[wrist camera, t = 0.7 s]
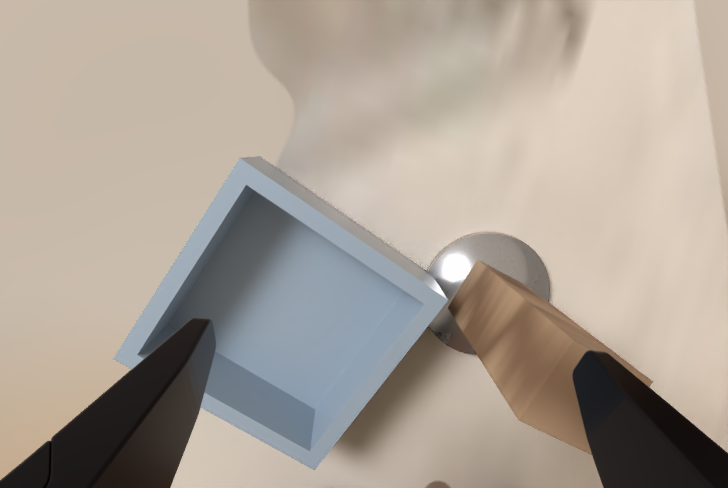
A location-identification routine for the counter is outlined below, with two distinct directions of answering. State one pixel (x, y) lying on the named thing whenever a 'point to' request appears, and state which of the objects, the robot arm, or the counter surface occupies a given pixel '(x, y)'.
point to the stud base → (494, 252)
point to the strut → (527, 350)
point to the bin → (289, 310)
